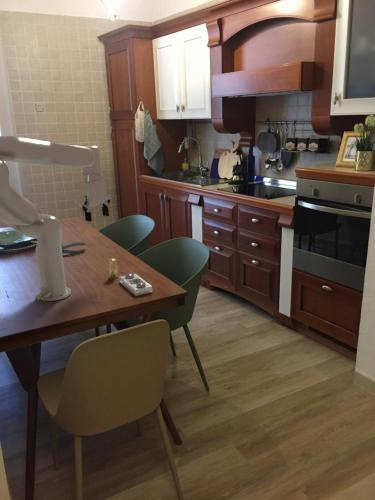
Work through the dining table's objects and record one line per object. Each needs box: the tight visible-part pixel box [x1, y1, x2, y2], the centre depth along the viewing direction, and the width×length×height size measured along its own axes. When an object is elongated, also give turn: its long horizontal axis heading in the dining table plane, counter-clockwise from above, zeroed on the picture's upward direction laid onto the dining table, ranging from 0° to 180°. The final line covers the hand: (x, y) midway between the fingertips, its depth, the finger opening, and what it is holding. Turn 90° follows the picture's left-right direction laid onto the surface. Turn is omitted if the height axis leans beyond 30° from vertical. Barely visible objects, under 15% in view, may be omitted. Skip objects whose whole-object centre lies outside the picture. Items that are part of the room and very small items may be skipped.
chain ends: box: [119, 272, 153, 297], centre depth 174 cm, size 17×7×4 cm, turn 29°
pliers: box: [62, 241, 87, 255], centre depth 219 cm, size 20×2×6 cm, turn 114°
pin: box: [107, 257, 119, 280], centre depth 185 cm, size 3×3×8 cm
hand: (97, 218), depth 182 cm, fingers open, 9 cm apart
